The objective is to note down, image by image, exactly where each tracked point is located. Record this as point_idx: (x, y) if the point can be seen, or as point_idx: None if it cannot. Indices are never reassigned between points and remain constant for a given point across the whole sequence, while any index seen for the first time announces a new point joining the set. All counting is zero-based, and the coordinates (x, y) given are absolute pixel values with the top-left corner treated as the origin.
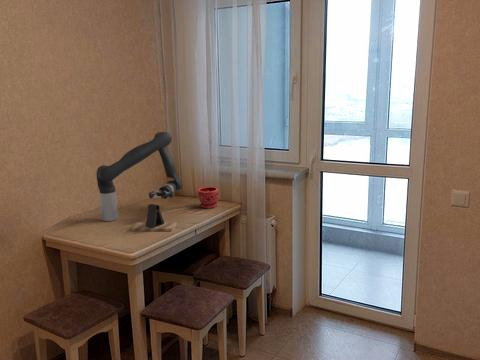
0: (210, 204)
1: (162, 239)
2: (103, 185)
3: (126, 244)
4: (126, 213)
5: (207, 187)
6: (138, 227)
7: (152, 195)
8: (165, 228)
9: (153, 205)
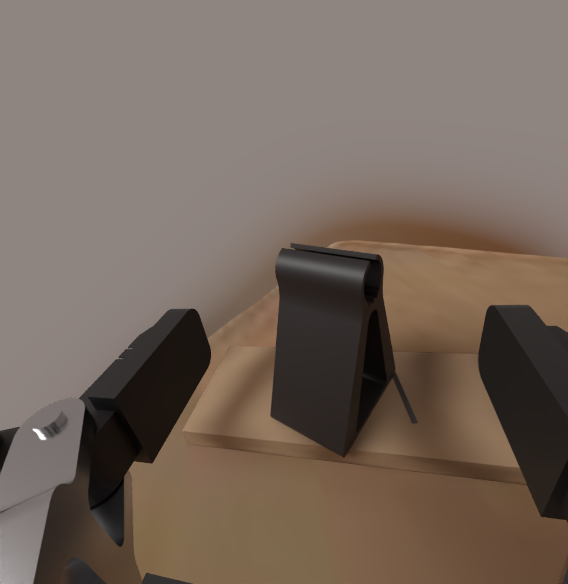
0: None
1: (269, 295)
2: None
3: (389, 266)
4: None
5: None
6: (438, 360)
7: (526, 395)
8: (259, 347)
9: (322, 248)
